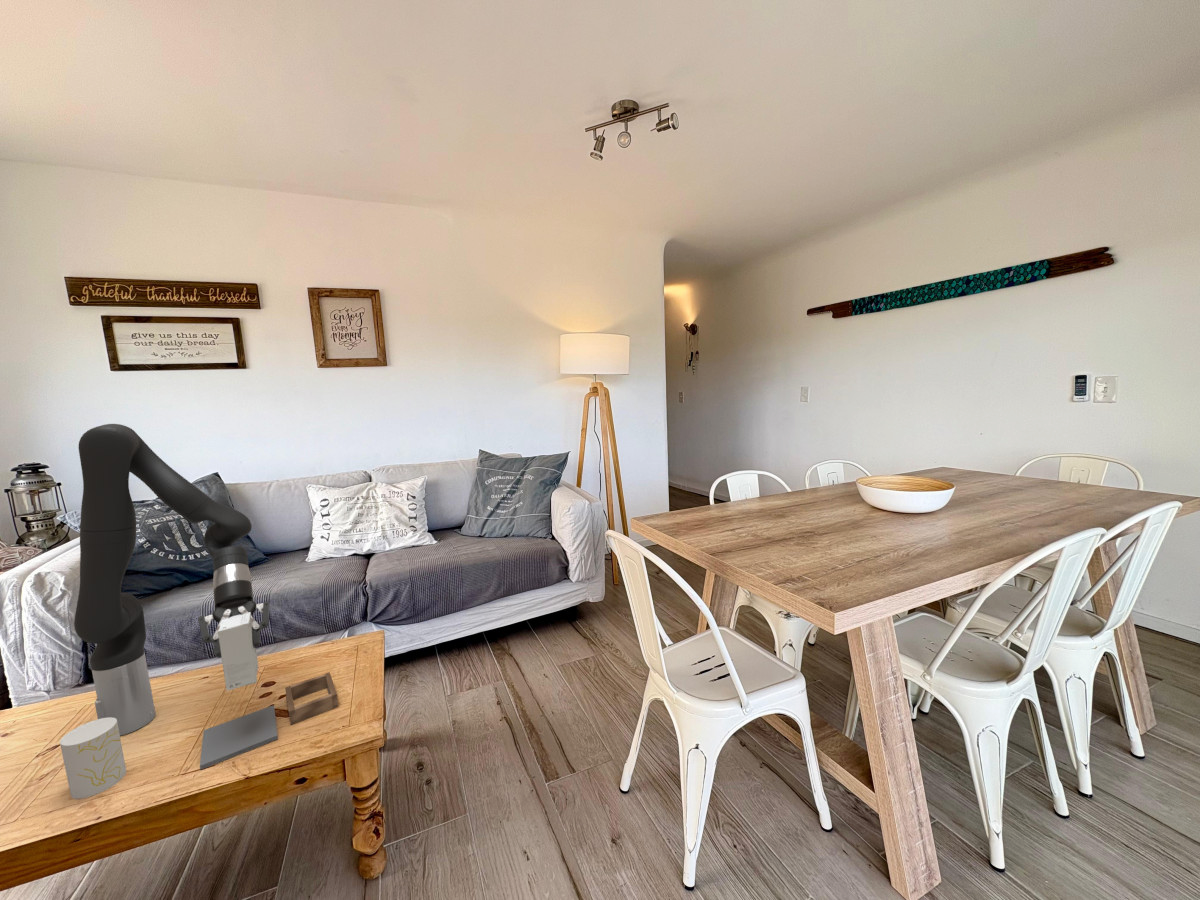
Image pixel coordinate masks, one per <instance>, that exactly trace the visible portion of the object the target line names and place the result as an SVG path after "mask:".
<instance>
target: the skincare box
mask: <svg viewBox="0 0 1200 900" xmlns="http://www.w3.org/2000/svg"><path fill="white" fill-rule="evenodd" d="M252 631H253V629H252V624H251V612H249V614H244V615H242V614H240V615H236V616H232V617H229V618H228V619H224V620H222V621H221V623H220V628H219V630H218V636H219V643H220V650H221V664H222V668H223V678H224V683H225V688H226V689H225V690H226V691H227V692H228V691H231V690H236V689H238V688H242V687H245V686H250V685H254V684H256V683H257V682H258V679H257V678H258V670H259V661H258V654H257V648H254V643H253V633H252Z"/></svg>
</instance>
